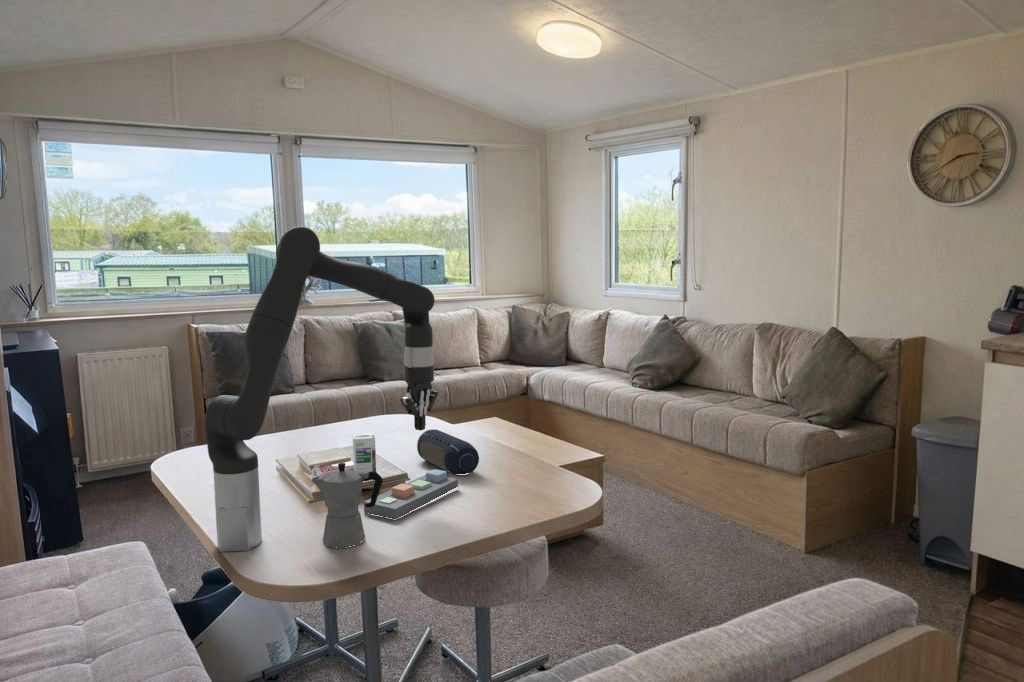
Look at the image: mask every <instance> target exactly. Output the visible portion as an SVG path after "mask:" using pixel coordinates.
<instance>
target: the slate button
mask: <svg viewBox="0 0 1024 682" xmlns="http://www.w3.org/2000/svg"><path fill="white" fill-rule="evenodd" d="M447 472H448V471H446V470H440V469H432V470H429V471H428V472H426V473H425V475H426V481H429V482H434V483H440V482H442V481H444V480H447V477H448V474H447Z"/></svg>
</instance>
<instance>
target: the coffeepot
mask: <svg viewBox="0 0 1024 682" xmlns="http://www.w3.org/2000/svg"><path fill="white" fill-rule="evenodd" d="M337 466H338V467H337V468H338V470H335V471H329V472H326V473H324V474H323V475H318V476H315V477H313V478H312V479H311V482H312V483H314V484H315V486H316V487H317V488H318V491H320V493H321V495H322V496H323V500H324V504H325V507H326V508H327V513H326V516H325V523H324V530H323V536H322V537H323V538H322V542H323V544H324V543H325V544H326V545H327V546H328V548H330V547H334V548H333V549H335V548H336V547H337V548H345V549H347V548H346V547H349V546H353V545H357V544H359V543H360V542H361V541H362V540H363V539H364V538H365V539H366V535H365V529H364V525H363V521H362V520H363V519H362V515H361V512H360V510H359V505H360V504H361V499H362V484H363V481H368V480H375V483H374V487H373V489H372V493H371V494H370V499H371V502H370V503H367V504H365V506H366V508H369V507H374V506H375V503H376V500H377V497H378V495H380V491H381V487H382V485H383V482H384V481H383V477H382V476H381V475H380V474H379V473H378V472H377V471H376V472H375V471H371V472H359V471H354V469H353V470H352V469H346V463H345V462H340V463H338V464H337ZM365 539H364V540H365ZM364 540H363V541H364ZM325 544H324V545H325ZM326 545H325V546H326ZM359 545H360V544H359ZM327 546H326V547H327ZM357 546H358V545H357Z"/></svg>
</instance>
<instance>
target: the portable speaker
mask: <svg viewBox="0 0 1024 682" xmlns="http://www.w3.org/2000/svg"><path fill="white" fill-rule="evenodd" d="M416 444H417V445H416V448H417V453H418V455H419V456H420V458H422V460H425V461H426V462H429V463H431V464H432V465H435V466H437V467H439V468H440V469H443V471H447V472H448V471H449V473H450V474H452V475H454V474H466V473H469V474H471V473H473V472H474V470H476V468H477V467H478V465H479V463H480V456H479V453H478V451H477V449H476V448H475V447H474V446H473V445H472V444H471V443H470V442H468V441H465V440H463V439H461V438H459V437H456V436H454V435H451V434H449V433H446V432H443V431H441V430H439V429H427V430H425V431H424V432H422V434H421V435H420V436H419V437H418V439H417V443H416ZM470 472H471V473H470Z"/></svg>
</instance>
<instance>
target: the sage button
mask: <svg viewBox="0 0 1024 682" xmlns="http://www.w3.org/2000/svg"><path fill="white" fill-rule="evenodd" d="M409 485H412V486H414V489H415V490H420V491H423V490H425V489H427V488H429V487H431V482H427V481H422V480H417V481H415V482H413V483H411V484H409Z"/></svg>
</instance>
